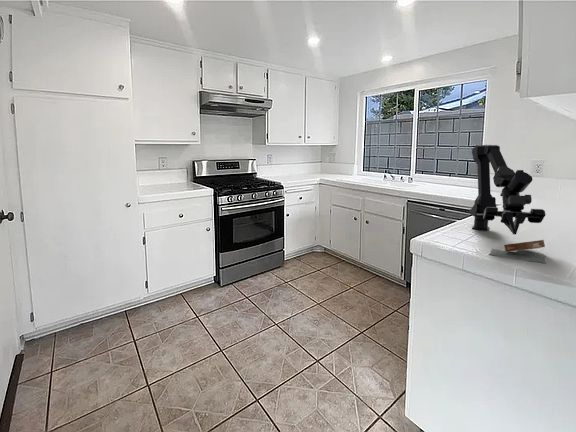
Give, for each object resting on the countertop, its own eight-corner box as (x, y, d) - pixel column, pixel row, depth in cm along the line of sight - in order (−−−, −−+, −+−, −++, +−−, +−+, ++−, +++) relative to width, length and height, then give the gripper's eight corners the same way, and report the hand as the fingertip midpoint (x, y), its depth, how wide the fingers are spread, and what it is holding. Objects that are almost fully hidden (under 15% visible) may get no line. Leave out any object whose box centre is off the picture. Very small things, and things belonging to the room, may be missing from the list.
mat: (491, 249, 123) (492, 248, 123) (545, 257, 114) (545, 256, 114) (489, 254, 117) (489, 254, 117) (545, 263, 108) (545, 262, 108)
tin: (525, 242, 124) (548, 237, 116) (528, 250, 123) (551, 246, 116) (498, 245, 118) (520, 240, 111) (500, 254, 118) (523, 249, 110)
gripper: (487, 186, 124) (489, 220, 116) (547, 187, 117) (554, 223, 109) (482, 203, 132) (484, 236, 125) (537, 205, 125) (543, 240, 118)
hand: (514, 233), depth 119 cm, fingers closed
